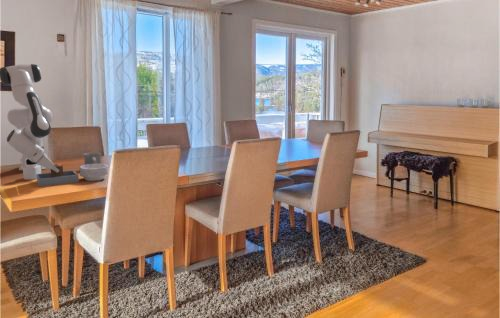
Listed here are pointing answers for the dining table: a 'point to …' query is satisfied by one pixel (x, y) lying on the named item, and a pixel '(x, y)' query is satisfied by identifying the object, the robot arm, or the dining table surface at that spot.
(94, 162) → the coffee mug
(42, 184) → the tray
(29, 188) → the dining table surface
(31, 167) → the medicine bottle
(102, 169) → the paper bowls
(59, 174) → the sleeve
